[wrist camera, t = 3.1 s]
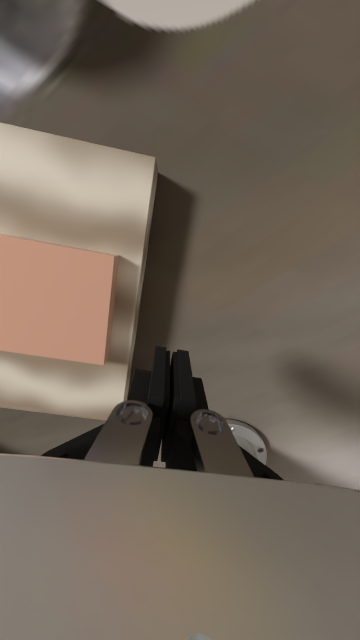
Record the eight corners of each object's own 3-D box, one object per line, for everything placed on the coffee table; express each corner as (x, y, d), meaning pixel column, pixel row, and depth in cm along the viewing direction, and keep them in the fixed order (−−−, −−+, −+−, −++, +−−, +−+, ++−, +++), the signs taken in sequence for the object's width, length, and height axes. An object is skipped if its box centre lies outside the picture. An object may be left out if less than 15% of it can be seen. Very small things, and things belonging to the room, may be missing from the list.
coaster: (109, 355, 24) (103, 365, 22) (5, 340, 23) (-10, 349, 21) (119, 255, 21) (114, 256, 19) (1, 233, 20) (-17, 232, 18)
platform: (127, 399, 30) (120, 422, 26) (-4, 382, 29) (-31, 403, 25) (158, 172, 22) (155, 157, 19) (-18, 133, 21) (-60, 109, 17)
